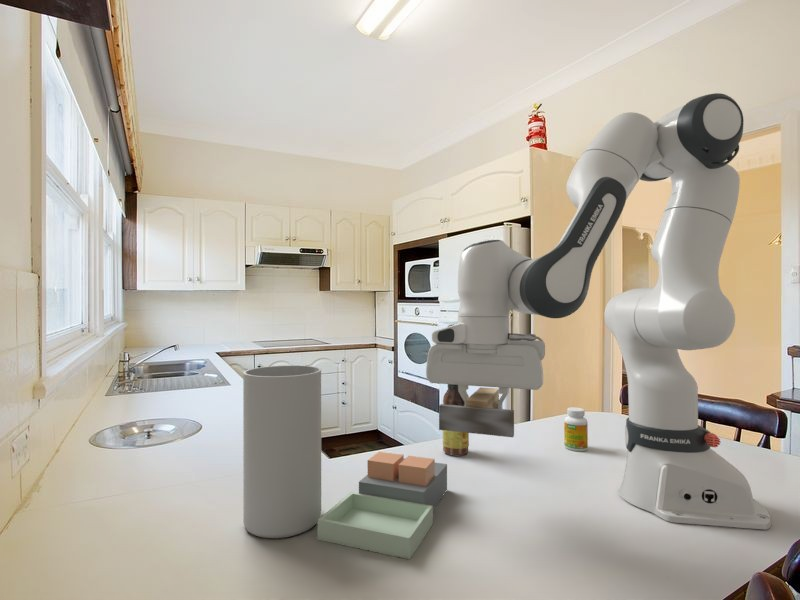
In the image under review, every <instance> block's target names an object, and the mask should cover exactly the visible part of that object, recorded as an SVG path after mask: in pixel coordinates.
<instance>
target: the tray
mask: <svg viewBox="0 0 800 600" xmlns="http://www.w3.org/2000/svg"><path fill="white" fill-rule="evenodd" d="M433 521H434V509H433V506H431V505H425V504H419V503H413V502H407V501H401V500H396V499H390V498H384V497H378V496H372V495H366V494H360V493H359V492H353V491H350V492H349V493H348V494H347V495H346V496H344V497H343V498H341V500H340V501H338V502H337V503H336V504H335V505H334V506H332V507H331V508H330V509H329V510H327V511H326V513H324V514H323V515H321V517H320V518H319V519H318V522H317V540H318V541H323V542H328V543H333V544H337V545H342V546H347V547H351V548H354V549H359V548H360V550H364V551H368V550H369V552H373V551H374V553H377V552H378V554H382V555H383V554H384V555H387V556H392V557H397V558H401V559H406V560H410V559H411V558H412V556H413V554H414V553H416V551H417V549H418V547H419V546H420V545H421V543H422V542H423V540H424V539H425V537H426V535H427V533H429V531H430V530H431V528H432V526H433V525H432V524H434V522H433Z"/></svg>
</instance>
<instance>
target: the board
mask: <svg viewBox="0 0 800 600" xmlns="http://www.w3.org/2000/svg"><path fill="white" fill-rule="evenodd" d="M405 458H406V457H405ZM405 458H404V459H405ZM446 490H447V491H448V464H447V463H441V462H435V476H434V477H433V478H432V479H431V481H430V482H429V483H428V484H427V485H426V486H422V485H416V484H409V483H403V482H399V476H398V477H397V478H396V479H395V480H394V481H390V480H383V479H377V478H370V477H368V474H366V475H365V476H364V477H363V478H362V479H360V480H359V481H358V493H360V494H366V495H372V496H378V497H384V498H390V499H396V500H401V501H407V502H413V503H419V504H425V505H431V506H433V510H434V509H435V508H436V506H437V505H438V504H437V503H439V502H440V501H441V499H442V498H443V497H442V496H444V495H445V494H446V492H447V491H446ZM445 491H446V492H445ZM444 493H445V494H444ZM443 494H444V495H443ZM441 497H442V498H441ZM439 500H440V501H439ZM436 504H437V505H436ZM434 507H435V508H434Z"/></svg>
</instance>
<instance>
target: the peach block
mask: <svg viewBox="0 0 800 600" xmlns="http://www.w3.org/2000/svg"><path fill="white" fill-rule="evenodd" d="M435 460H436V459H435V458H429V457H424V456H414V455H408V456H406V457H405V459H404V460H403V461H402V462H401V463H400V464H399V482H403V483H409V484H416V485H422V486H426V485H427V484H428V483H429V482H430V481H431V479H432V478H433V477H434V476H435V463H436V461H435Z"/></svg>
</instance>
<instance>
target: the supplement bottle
mask: <svg viewBox="0 0 800 600" xmlns="http://www.w3.org/2000/svg"><path fill="white" fill-rule="evenodd" d="M585 411H586V410H585V409H584V408H582V407H574V406H571V407H567V410H566V412H567V413H566V414H567V416H566V417H565V418H564V421H563V422H564V424H563V425H564V431H563V432H564V437H563V440H564V448H565V449H567V450H569V451H573V452H586V451H587V450H588V449H589V448H588V445H589V443H588V440H589V439H588V438H589V437H588V434H589V432H588V430H589V428H588V427H589V425H588V422H589V421H588V419H587V418H586V417H585V415H586V413H585Z"/></svg>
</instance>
